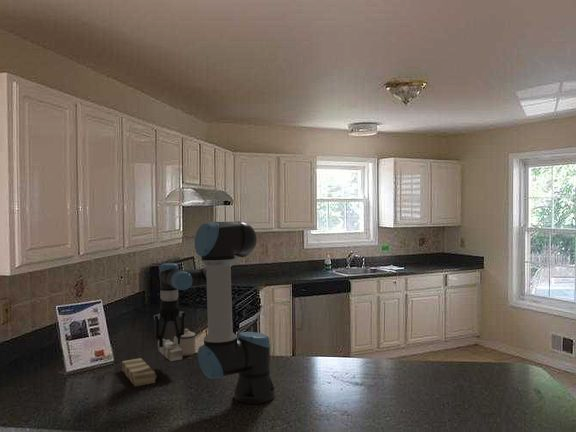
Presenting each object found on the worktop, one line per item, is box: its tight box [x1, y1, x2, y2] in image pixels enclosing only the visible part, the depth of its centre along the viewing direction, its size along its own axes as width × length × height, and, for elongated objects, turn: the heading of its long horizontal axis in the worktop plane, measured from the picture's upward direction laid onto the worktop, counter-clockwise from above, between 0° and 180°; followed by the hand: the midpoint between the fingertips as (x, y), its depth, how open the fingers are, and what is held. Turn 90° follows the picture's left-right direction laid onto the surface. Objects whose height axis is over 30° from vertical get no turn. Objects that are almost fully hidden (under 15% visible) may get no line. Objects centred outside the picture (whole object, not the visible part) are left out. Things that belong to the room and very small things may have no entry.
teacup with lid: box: [172, 328, 197, 357], centre depth 225 cm, size 12×9×12 cm
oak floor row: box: [121, 357, 158, 387], centre depth 193 cm, size 22×9×4 cm, turn 32°
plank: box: [157, 339, 183, 362], centre depth 200 cm, size 18×5×4 cm, turn 32°
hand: (169, 352), depth 200 cm, fingers closed on plank, 5 cm apart
